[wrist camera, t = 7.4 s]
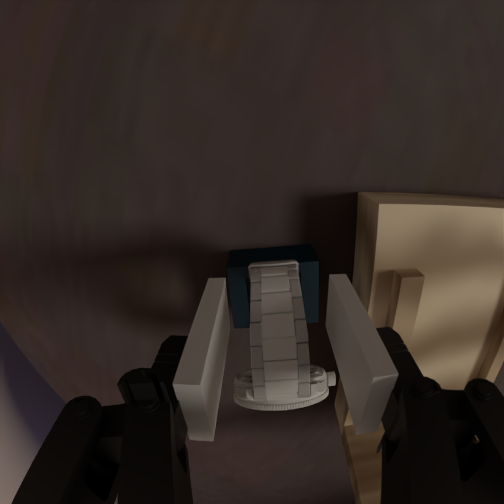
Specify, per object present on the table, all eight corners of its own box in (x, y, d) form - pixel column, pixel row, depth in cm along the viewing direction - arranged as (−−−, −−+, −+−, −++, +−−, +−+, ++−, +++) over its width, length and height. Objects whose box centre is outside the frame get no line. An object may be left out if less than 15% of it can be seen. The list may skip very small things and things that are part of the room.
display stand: (357, 191, 20) (494, 280, 7) (515, 200, 19) (633, 256, 6) (334, 404, 27) (360, 531, 13) (465, 379, 26) (520, 468, 13)
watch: (240, 326, 23) (228, 443, 13) (227, 225, 21) (196, 309, 10) (312, 321, 23) (340, 435, 13) (311, 219, 20) (359, 297, 10)
